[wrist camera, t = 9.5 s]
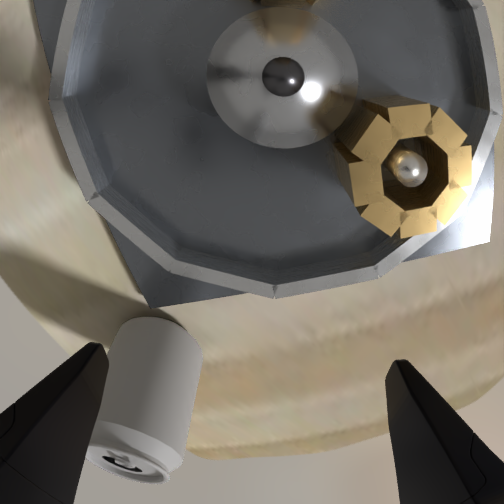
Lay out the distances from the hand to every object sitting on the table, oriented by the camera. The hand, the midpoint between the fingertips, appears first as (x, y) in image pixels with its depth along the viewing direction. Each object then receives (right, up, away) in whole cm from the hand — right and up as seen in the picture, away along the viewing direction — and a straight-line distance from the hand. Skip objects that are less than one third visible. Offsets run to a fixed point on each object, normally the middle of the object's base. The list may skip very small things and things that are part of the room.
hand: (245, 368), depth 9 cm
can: (-7, -4, +17) cm, 19 cm away
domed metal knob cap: (+2, +12, +5) cm, 13 cm away
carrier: (+2, +13, +6) cm, 14 cm away
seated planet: (+8, +9, +7) cm, 14 cm away
